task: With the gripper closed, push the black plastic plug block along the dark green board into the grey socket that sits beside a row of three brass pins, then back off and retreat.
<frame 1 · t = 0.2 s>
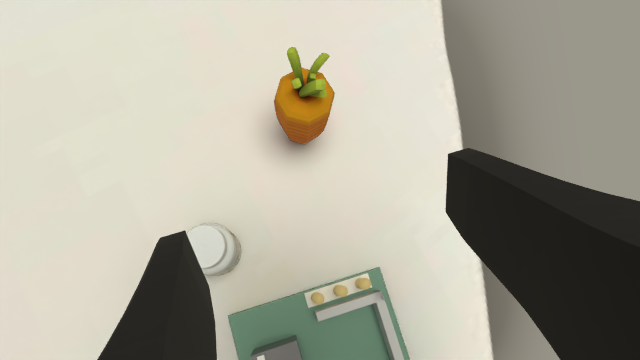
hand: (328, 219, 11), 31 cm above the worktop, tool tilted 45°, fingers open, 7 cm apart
pill bottle: (218, 252, 41), on the worktop
carrot: (300, 137, 44), on the worktop
header board: (322, 348, 40), on the worktop
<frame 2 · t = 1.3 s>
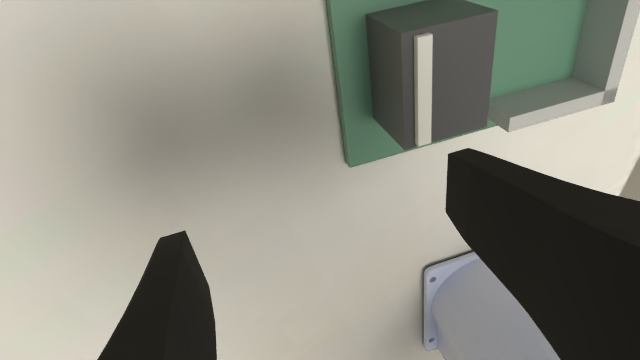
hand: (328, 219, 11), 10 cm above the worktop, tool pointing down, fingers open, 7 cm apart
plug block: (409, 60, 20), point 1 cm above the worktop, touching header board
header board: (477, 28, 21), on the worktop
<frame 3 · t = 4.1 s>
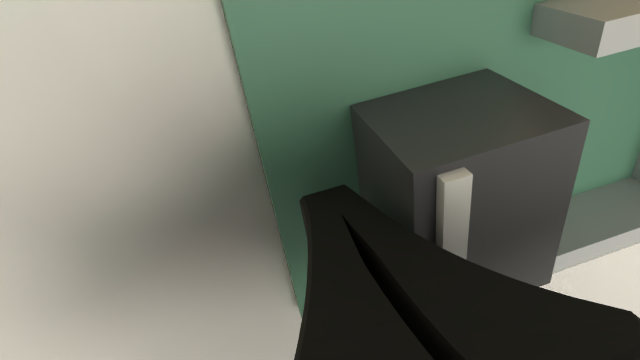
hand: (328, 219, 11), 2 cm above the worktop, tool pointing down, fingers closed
plug block: (421, 164, 13), point 1 cm above the worktop, touching gripper
header board: (497, 119, 13), on the worktop
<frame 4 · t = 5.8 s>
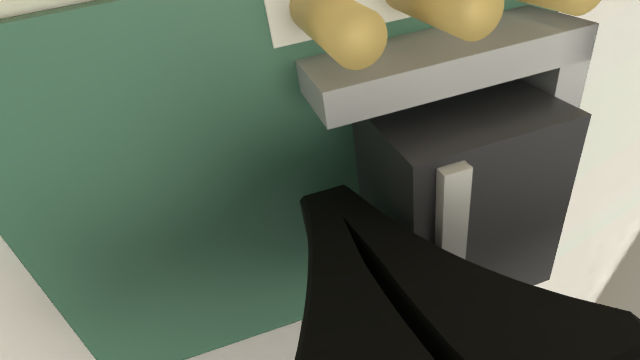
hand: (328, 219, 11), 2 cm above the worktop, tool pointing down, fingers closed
plug block: (420, 160, 13), point 1 cm above the worktop, touching gripper, header board
header board: (302, 174, 12), on the worktop
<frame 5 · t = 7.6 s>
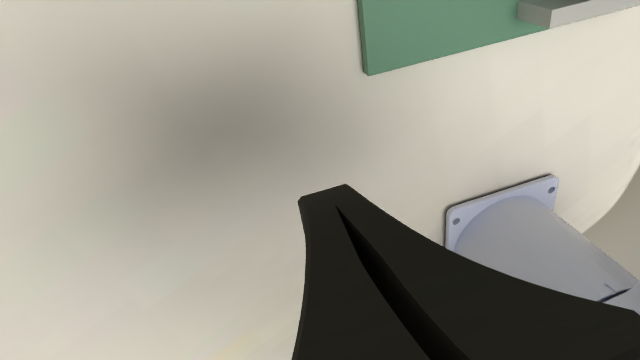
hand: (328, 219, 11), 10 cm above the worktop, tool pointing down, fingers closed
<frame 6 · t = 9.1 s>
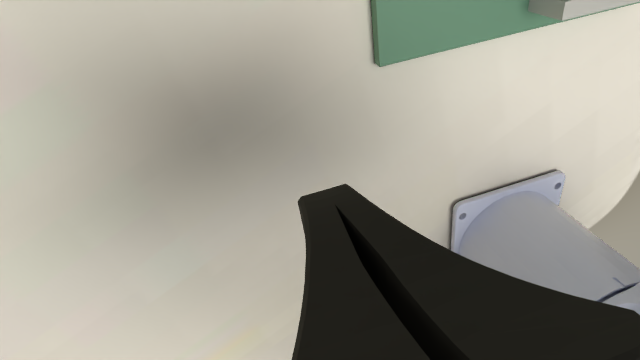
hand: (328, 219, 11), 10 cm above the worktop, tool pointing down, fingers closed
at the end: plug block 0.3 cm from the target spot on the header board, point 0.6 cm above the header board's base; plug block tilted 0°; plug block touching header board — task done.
